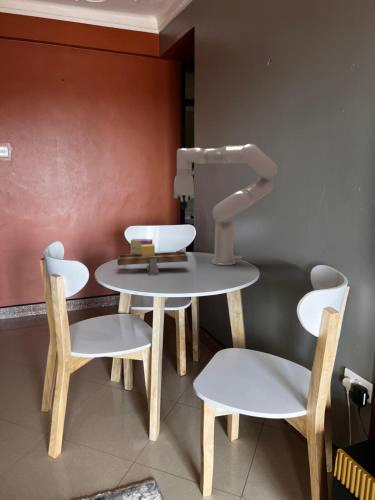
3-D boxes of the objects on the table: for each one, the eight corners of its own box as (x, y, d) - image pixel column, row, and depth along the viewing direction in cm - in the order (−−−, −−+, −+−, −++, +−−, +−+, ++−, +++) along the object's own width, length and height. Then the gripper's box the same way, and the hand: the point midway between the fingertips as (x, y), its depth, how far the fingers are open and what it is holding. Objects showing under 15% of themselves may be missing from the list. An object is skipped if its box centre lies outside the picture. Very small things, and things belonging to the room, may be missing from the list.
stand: (157, 266, 187) (157, 252, 186) (158, 274, 171) (158, 259, 169) (147, 266, 187) (146, 252, 185) (147, 275, 170) (147, 259, 169)
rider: (154, 256, 180) (154, 244, 179) (155, 258, 175) (154, 245, 174) (141, 257, 179) (141, 244, 178) (142, 259, 175) (141, 246, 173)
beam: (185, 256, 185) (185, 250, 184) (187, 261, 175) (187, 255, 174) (118, 260, 181) (118, 254, 180) (117, 265, 171) (117, 258, 171)
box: (152, 261, 199) (152, 238, 197) (150, 263, 193) (150, 240, 191) (133, 260, 200) (132, 238, 198) (130, 262, 194) (130, 240, 192)
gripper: (197, 173, 197) (197, 208, 201) (168, 173, 196) (168, 208, 199) (199, 173, 190) (199, 210, 194) (170, 173, 188) (170, 210, 192)
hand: (183, 209), depth 196 cm, fingers closed
